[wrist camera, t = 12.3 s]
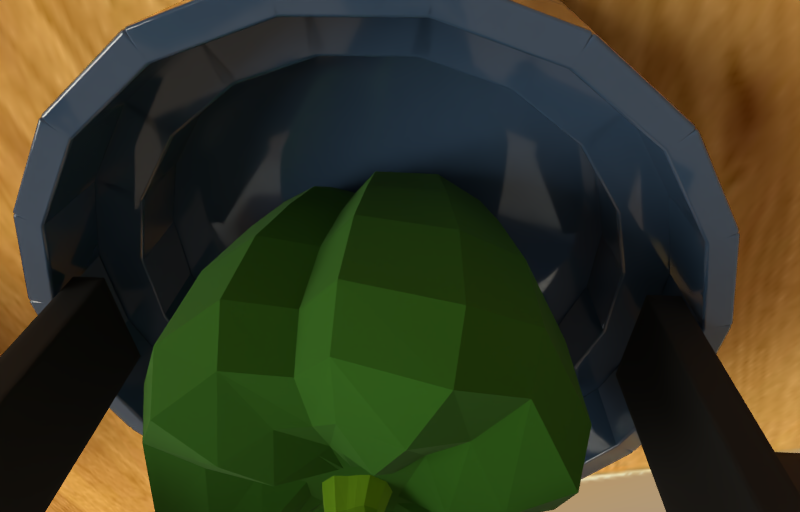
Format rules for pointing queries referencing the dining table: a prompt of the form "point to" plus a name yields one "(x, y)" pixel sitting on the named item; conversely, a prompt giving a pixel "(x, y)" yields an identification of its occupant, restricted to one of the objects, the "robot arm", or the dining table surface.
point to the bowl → (380, 162)
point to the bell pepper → (365, 365)
